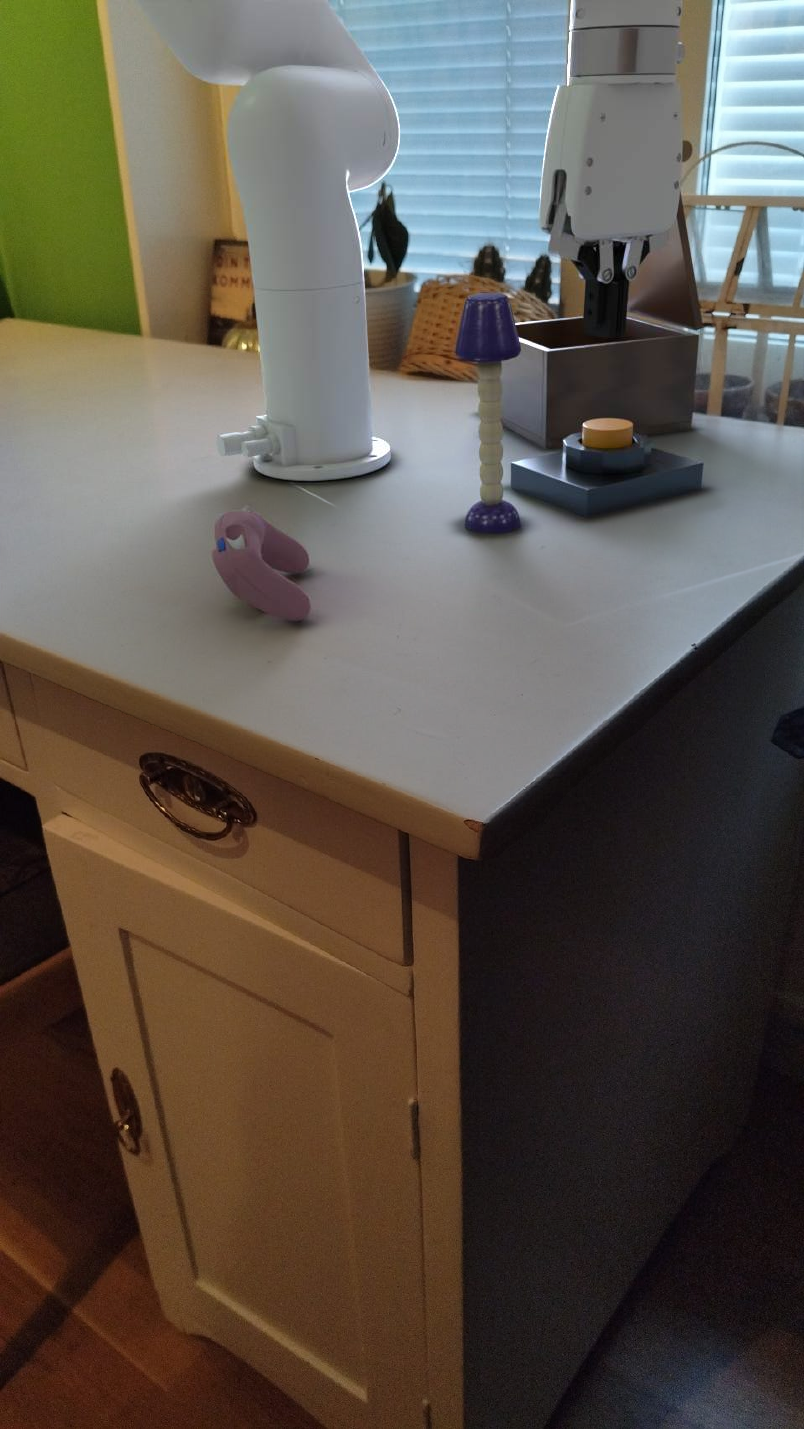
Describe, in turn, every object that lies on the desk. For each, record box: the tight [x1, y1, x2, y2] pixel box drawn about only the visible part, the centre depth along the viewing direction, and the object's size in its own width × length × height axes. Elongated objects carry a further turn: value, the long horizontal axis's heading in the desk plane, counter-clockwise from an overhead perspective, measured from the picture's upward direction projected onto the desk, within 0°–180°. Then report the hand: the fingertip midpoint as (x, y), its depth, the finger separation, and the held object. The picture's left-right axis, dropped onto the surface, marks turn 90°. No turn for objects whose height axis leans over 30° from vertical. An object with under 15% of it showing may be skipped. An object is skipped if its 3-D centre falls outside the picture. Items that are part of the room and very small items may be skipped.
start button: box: [582, 418, 633, 448], centre depth 89 cm, size 4×4×2 cm
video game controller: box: [211, 505, 312, 622], centre depth 72 cm, size 10×5×7 cm, turn 5°
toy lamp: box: [454, 292, 521, 535], centre depth 80 cm, size 5×5×17 cm
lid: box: [623, 139, 704, 332], centre depth 105 cm, size 16×16×5 cm
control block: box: [510, 432, 705, 518], centre depth 90 cm, size 12×10×4 cm
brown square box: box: [499, 314, 700, 449], centre depth 109 cm, size 16×16×9 cm
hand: (603, 334), depth 86 cm, fingers closed
